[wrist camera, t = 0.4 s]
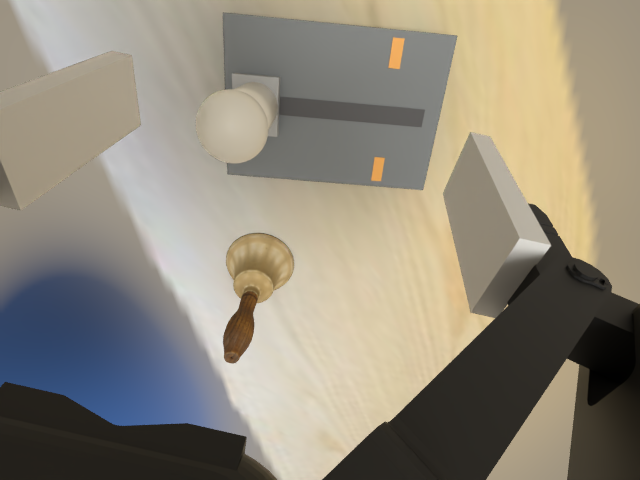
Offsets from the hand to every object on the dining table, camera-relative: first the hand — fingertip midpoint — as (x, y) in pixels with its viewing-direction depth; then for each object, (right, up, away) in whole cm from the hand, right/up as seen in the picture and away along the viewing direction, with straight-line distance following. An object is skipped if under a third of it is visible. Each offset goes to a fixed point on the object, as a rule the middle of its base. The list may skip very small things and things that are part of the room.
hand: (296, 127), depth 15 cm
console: (+2, +9, +23) cm, 25 cm away
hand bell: (-6, -7, +31) cm, 33 cm away
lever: (-5, +8, +19) cm, 22 cm away
